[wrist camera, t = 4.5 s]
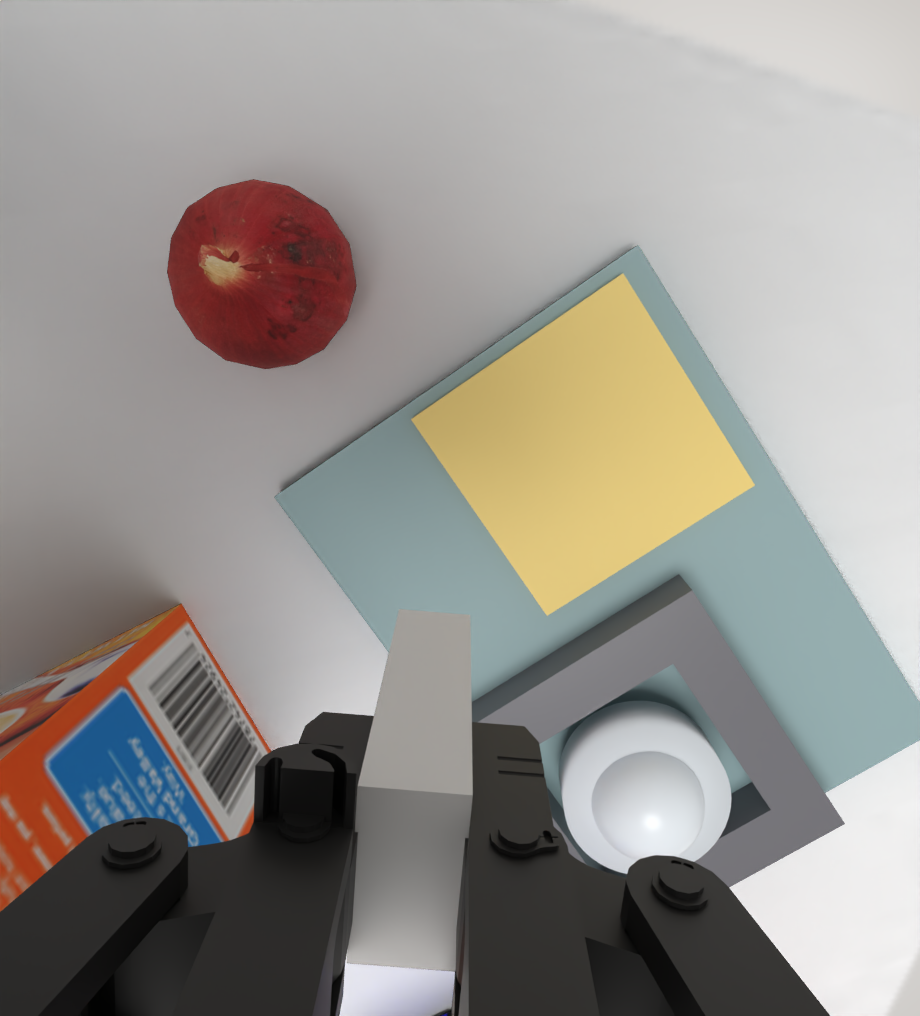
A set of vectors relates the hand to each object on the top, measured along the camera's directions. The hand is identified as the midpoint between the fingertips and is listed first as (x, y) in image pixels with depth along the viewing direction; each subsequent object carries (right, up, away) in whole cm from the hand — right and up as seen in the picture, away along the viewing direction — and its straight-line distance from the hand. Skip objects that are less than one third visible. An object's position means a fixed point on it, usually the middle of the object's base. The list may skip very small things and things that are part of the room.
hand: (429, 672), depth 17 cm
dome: (+7, -7, +14) cm, 17 cm away
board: (+6, 0, +15) cm, 16 cm away
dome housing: (+8, -6, +16) cm, 19 cm away
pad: (+5, +6, +13) cm, 16 cm away
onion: (-6, +12, +13) cm, 18 cm away
